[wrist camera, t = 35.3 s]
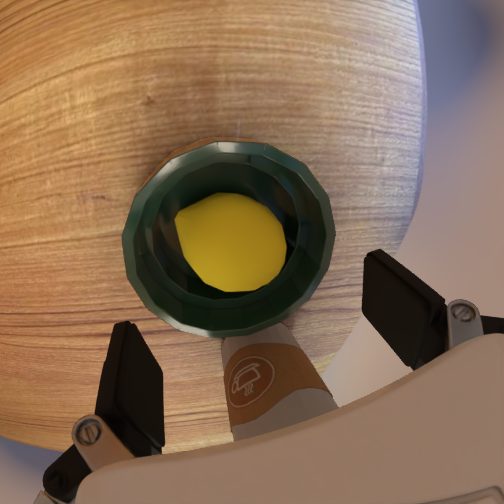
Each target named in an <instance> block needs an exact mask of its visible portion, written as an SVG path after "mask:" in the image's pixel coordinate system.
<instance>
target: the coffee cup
mask: <svg viewBox="0 0 504 504" xmlns="http://www.w3.org/2000/svg"><path fill="white" fill-rule="evenodd" d="M221 353H222V361H223V369H224V385H225V392H226V399H227V407H228V414H229V421H230V427H231V432H232V433H233V438H234V442H235V441H239V440H243V439H247V438H251V437H255V436H258V435H262V434H265V433H269V432H272V431H276V430H279V429H282V428H285V427H289V426H292V425H295V424H298V423H301V422H303V421H306V420H309V419H312V418H314V417H317V416H320V415H322V414H325V413H328V412H330V411H333V410H335V409H337V408H339V407H338V406H337V404H336V403H335V401H334V399H333V396H332V394H331V393H330V391H329V390H328V388H327V387H326V385H325V383H324V382H323V380H322V379H321V377H320V376H319V374H318V373H317V371H316V369H315V368H314V366H313V365H312V363H311V362H310V360H309V358H308V357H307V355H306V354H305V353H304V351H303V350H302V349H301V348H300V346H299V344H298V343H297V341H296V340H295V338H294V336H293V335H292V333H291V332H290V330H289V329H288V328H287V326H285V325H283V324H282V323H278V324H276V325H273V326H271V327H268V328H266V329H263V330H261V331H258V332H256V333H253V334H251V335H247V336H237V337H226V338H225V341H224V342H223V345H222V349H221Z"/></svg>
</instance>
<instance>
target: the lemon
mask: <svg viewBox="0 0 504 504" xmlns="http://www.w3.org/2000/svg"><path fill="white" fill-rule="evenodd" d="M174 220H175V224H176V229H177V233H178V237H179V241H180V244H181V248H182V251H183V255H184V257H185V259H186V260H187V262H188V263H189V264H190V266H191V267H192V268H193V270H194V271H195V272H196V273H197V274H198V276H199V277H200V278H201V279H202V280H203V281H204V283H206V284H208V285H211V286H213V287H215V288H217V289H220V290H222V291H224V292H236V291H252V290H256V289H258V288H260V287H261V286H263V285H266V284H268V283H269V282H270V281H271V280H272V279H274V278H275V277H276V276H277V275H278V274H279V272H280V270H281V268H282V266H283V264H284V262H285V256H286V248H287V246H286V241H285V237H284V232H283V228H282V225H281V223H280V222H279V221H278V220H277V218H276V217H275V216H274V215H273V213H272V212H271V211H270V209H269V208H268V207H266V206H264V205H263V204H261V203H259V202H257V201H256V200H254V199H252V198H250V197H248V196H244V195H240V194H236V193H218V192H217V193H215V194H213V195H210V196H208V197H206V198H204V199H202V200H200V201H198V202H196V203H194V204H192V205H190V206H188V207H186V208H184V209H182V210H180V211H178V212H177V214H176V216H175V218H174Z"/></svg>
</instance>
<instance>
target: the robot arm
mask: <svg viewBox="0 0 504 504" xmlns="http://www.w3.org/2000/svg"><path fill="white" fill-rule="evenodd" d="M362 312H363V314H364V316H365V317H366V318H367V319H368V321H369V322H370V323H371V324H372V325H373V327H374V328H375V329H376V330H377V331H378V332H379V334H380V335H381V336H382V337H383V338H384V340H385V341H386V342H387V343H388V344H389V346H390V347H391V348H392V349H393V350H394V352H395V353H396V354H397V355H398V356H399V358H400V359H401V360H402V362H403V363H404V364H405V365H406V366H408V367H409V366H410V367H411V368H412V369H413V372H411V373H409V374H408V375H406V376H404V377H402V378H400V379H399V380H397V381H395V382H393V383H391V384H389V385H387V386H385V387H383V388H381V389H380V390H377V391H375V392H373V393H371V394H369V395H367V396H365V397H363V398H361V399H358V400H356V401H354V402H352V403H349V404H347V405H345V406H342V407H340V408H337V409H335V410H333V411H330V412H328V413H325V414H322V415H320V416H317V417H314V418H312V419H309V420H306V421H303V422H301V423H298V424H295V425H292V426H289V427H285V428H282V429H279V430H276V431H272V432H269V433H265V434H262V435H258V436H255V437H251V438H247V439H243V440H239V441H235V442H230V443H226V444H221V445H216V446H211V447H206V448H200V449H194V450H189V451H182V452H176V453H169V454H162V447H164V446H165V432H164V404H163V372H162V369H161V367H160V366H159V364H158V362H157V361H156V359H155V358H154V356H153V354H152V353H151V351H150V349H149V347H148V346H147V344H146V342H145V341H144V339H143V337H142V335H141V333H140V332H139V330H138V328H137V326H136V325H135V324H134V323H132V324H131V323H130V322H129V321H124V322H120V323H116V324H115V325H114V328H113V331H112V335H111V340H110V344H109V348H108V352H107V357H106V360H105V362H104V365H103V369H102V374H101V379H100V385H99V390H98V396H97V401H96V407H95V414H94V415H86V416H83V417H82V418H80V419H79V420H78V421H77V422H76V423H75V425H74V427H73V430H72V440H73V442H74V444H73V445H72V446H71V447H70V448H69V449H68V450H67V451H66V452H64V453H63V454H62V455H61V456H60V457H59V458H58V459H57V460H56V461H55V462H54V463H53V464H51V466H49V467H48V468H47V470H46V471H45V473H44V475H43V486H44V488H45V490H44V492H43V491H41V490H40V492H39V494H38V496H37V498H36V499H35V501H34V503H33V504H504V318H498V317H490V316H482V315H480V313H479V311H478V308H477V307H476V306H475V305H474V304H473V303H471V302H469V301H467V300H462V299H459V300H454V301H452V302H450V303H449V304H448V306H447V305H446V304H445V299H444V298H443V297H442V296H440V295H439V294H438V293H437V292H436V291H434V290H433V289H432V288H431V287H430V286H428V285H427V284H426V283H425V282H423V281H422V280H421V279H419V278H418V277H417V276H416V275H415V274H413V273H412V272H411V271H409V270H408V269H407V268H405V267H404V266H403V265H402V264H400V263H399V262H398V261H396V260H395V259H394V258H392V257H391V256H390V255H388V254H387V253H386V252H384V251H383V250H381V249H377V250H374V251H371V252H369V253H367V256H366V257H365V258H364V271H363V294H362ZM424 364H425V365H424ZM158 454H161V455H158ZM152 455H153V456H152Z"/></svg>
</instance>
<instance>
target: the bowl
mask: <svg viewBox="0 0 504 504" xmlns="http://www.w3.org/2000/svg"><path fill="white" fill-rule="evenodd" d="M217 192H218V193H236V194H240V195H244V196H248V197H250V198H252V199H254V200H256V201H257V202H259V203H261V204H263V205H264V206H266V207H268V208H269V209H270V211H271V212H272V213H273V215H274V216H275V217H276V218H277V220H278V221H279V222H280V223H281V225H282V228H283V232H284V237H285V241H286V246H287V248H286V256H285V262H284V264H283V266H282V268H281V270H280V272H279V274H278V275H277V276H276V277H275V278H274V279H272V280H271V281H270V282H269V283H268V284H266V285H263V286H261V287H260V288H258V289H256V290H252V291H236V292H224V291H222V290H220V289H217V288H215V287H213V286H211V285H208V284H206V283H204V281H203V280H202V279H201V278H200V277H199V276H198V274H197V273H196V272H195V271H194V270H193V268H192V267H191V266H190V264H189V263H188V262H187V260H186V259H185V257H184V255H183V251H182V248H181V244H180V241H179V237H178V233H177V229H176V224H175V220H174V218H175V216H176V214H177V212H178V211H180V210H182V209H184V208H186V207H188V206H190V205H192V204H194V203H196V202H198V201H200V200H202V199H204V198H206V197H208V196H210V195H213V194H215V193H217ZM335 233H336V231H335V225H334V220H333V215H332V210H331V205H330V200H329V197H328V195H327V193H326V192H325V191H324V189H323V188H322V186H321V185H320V184H319V182H318V181H317V179H316V178H315V177H314V175H313V174H312V173H311V171H310V170H309V169H308V167H307V166H306V165H305V164H304V163H302V162H301V161H299V160H297V159H295V158H293V157H292V156H290V155H288V154H286V153H284V152H282V151H280V150H278V149H277V148H275V147H273V146H271V145H269V144H267V143H263V142H259V141H256V140H252V139H248V138H239V137H213V136H210V137H206V138H203V139H201V140H198V141H196V142H193V143H191V144H188V145H186V146H183V147H181V148H178V149H176V150H174V151H172V152H171V153H170V154H169V155H168V156H167V157H166V158H165V159H164V160H163V161H162V162H161V163H160V164H159V165H158V166H157V167H156V168H155V170H154V171H153V172H152V173H151V174H150V175H149V176H148V177H147V178H146V180H145V181H144V183H143V184H142V186H141V187H140V189H139V191H138V192H137V194H136V195H135V197H134V200H133V203H132V206H131V209H130V212H129V215H128V218H127V221H126V224H125V227H124V230H123V234H122V246H123V254H124V262H125V268H126V275H127V278H128V280H129V282H130V283H131V285H132V287H133V288H134V290H135V291H136V293H137V294H138V296H139V297H140V299H141V300H142V302H143V304H144V305H145V307H146V308H147V309H148V310H149V311H150V312H152V313H153V314H155V315H156V316H158V317H159V318H160V319H162V320H163V321H165V322H166V323H168V324H169V325H171V326H172V327H174V328H175V329H178V330H180V331H184V332H187V333H191V334H195V335H200V336H204V337H208V338H225V337H237V336H247V335H251V334H253V333H256V332H258V331H261V330H263V329H266V328H268V327H271V326H273V325H276V324H278V323H280V322H282V321H284V320H285V319H286V318H287V317H289V316H290V315H291V314H292V313H293V312H295V311H296V310H297V309H298V308H300V307H301V306H302V305H303V304H304V303H306V302H307V301H308V300H309V299H310V298H311V296H312V294H313V293H314V291H315V290H316V288H317V287H318V285H319V283H320V282H321V280H322V279H323V277H324V275H325V274H326V272H327V271H328V268H329V265H330V260H331V255H332V251H333V246H334V241H335V236H336V234H335Z"/></svg>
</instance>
